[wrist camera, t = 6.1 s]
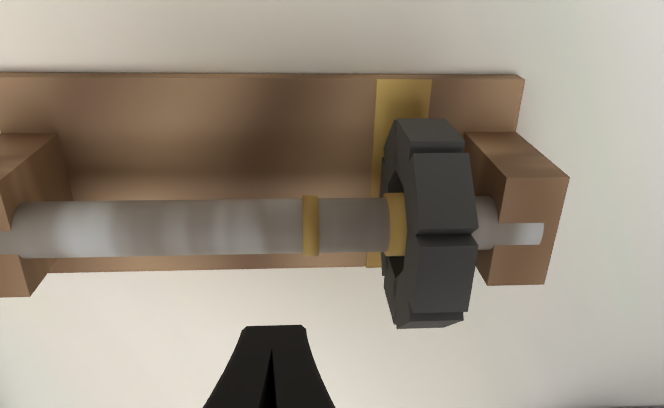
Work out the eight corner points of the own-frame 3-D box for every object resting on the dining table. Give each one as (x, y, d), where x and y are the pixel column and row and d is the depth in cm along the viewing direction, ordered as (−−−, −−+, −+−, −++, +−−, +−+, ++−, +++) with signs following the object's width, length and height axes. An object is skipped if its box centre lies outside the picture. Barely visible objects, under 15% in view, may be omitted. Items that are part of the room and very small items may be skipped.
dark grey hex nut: (429, 100, 19) (491, 170, 13) (413, 255, 22) (457, 369, 16) (385, 100, 19) (428, 171, 13) (375, 255, 22) (406, 371, 16)
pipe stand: (516, 74, 20) (589, 116, 15) (485, 254, 24) (535, 334, 19) (-3, 72, 19) (-108, 117, 14) (47, 262, 22) (-22, 352, 17)
